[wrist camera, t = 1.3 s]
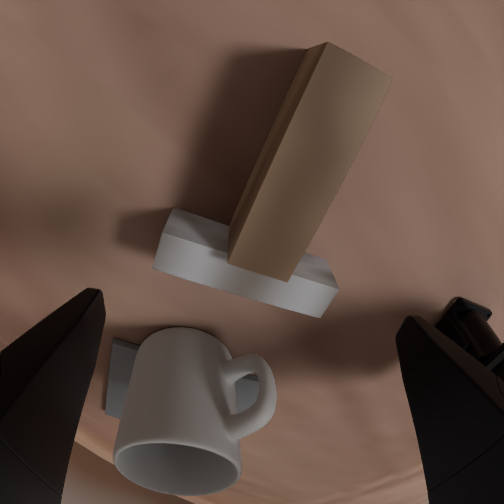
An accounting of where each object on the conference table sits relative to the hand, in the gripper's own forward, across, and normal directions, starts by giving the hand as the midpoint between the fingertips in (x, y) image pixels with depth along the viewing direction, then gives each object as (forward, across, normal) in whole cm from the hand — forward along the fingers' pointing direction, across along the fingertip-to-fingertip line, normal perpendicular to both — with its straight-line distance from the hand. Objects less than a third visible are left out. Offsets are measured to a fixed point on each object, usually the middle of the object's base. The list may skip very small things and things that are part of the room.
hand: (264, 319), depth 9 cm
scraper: (+12, -2, -1) cm, 13 cm away
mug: (+12, +2, +16) cm, 20 cm away
